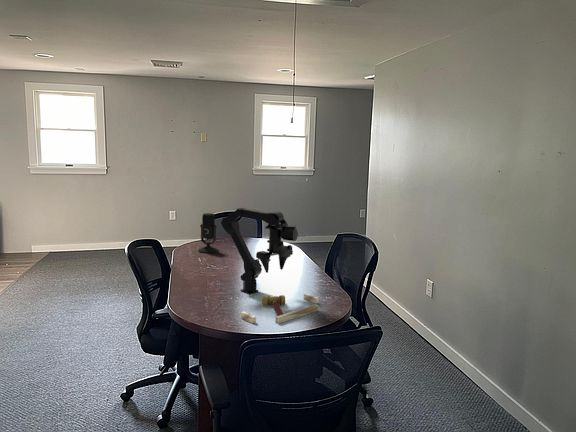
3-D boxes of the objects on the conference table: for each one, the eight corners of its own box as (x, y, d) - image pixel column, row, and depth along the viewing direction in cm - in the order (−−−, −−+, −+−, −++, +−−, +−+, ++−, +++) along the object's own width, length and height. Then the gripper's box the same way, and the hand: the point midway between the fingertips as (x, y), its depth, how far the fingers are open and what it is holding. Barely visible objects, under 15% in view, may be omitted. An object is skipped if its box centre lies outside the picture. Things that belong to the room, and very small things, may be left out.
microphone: (194, 252, 303) (194, 214, 299) (203, 248, 316) (204, 212, 312) (212, 254, 299) (213, 216, 295) (221, 250, 312) (222, 213, 308)
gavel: (294, 312, 189) (271, 314, 187) (294, 323, 190) (270, 324, 188) (283, 293, 209) (261, 294, 207) (282, 303, 210) (261, 304, 208)
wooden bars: (240, 317, 189) (240, 312, 189) (305, 298, 216) (305, 293, 216) (263, 328, 179) (264, 322, 179) (329, 306, 206) (329, 301, 206)
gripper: (271, 244, 203) (270, 278, 206) (301, 239, 216) (300, 271, 218) (255, 239, 211) (254, 272, 214) (285, 235, 224) (284, 266, 226)
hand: (274, 271), depth 218 cm, fingers open, 9 cm apart
